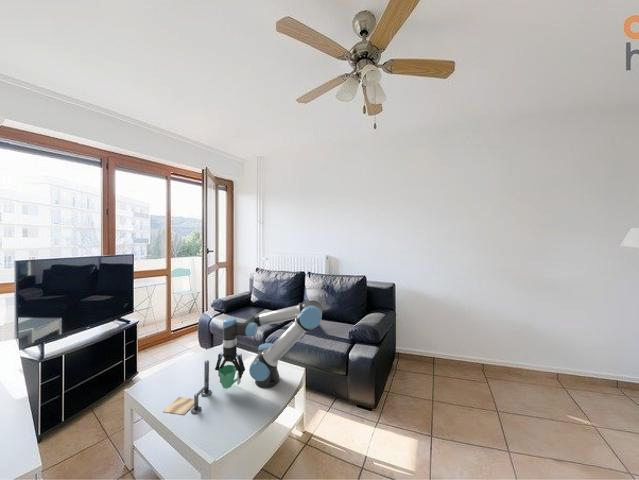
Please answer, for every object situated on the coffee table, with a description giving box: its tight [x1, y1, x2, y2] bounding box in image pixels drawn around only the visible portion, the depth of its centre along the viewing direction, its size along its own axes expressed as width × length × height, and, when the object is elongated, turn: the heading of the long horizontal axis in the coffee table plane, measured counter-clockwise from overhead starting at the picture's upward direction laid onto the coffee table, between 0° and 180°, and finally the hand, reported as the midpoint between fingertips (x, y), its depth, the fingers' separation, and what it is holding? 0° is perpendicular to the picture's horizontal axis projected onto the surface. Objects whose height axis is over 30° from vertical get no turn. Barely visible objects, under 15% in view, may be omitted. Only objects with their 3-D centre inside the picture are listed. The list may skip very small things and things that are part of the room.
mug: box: [217, 364, 244, 390], centre depth 152 cm, size 15×10×10 cm
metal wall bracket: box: [190, 360, 213, 415], centre depth 143 cm, size 8×19×19 cm, turn 171°
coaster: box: [163, 396, 194, 416], centre depth 140 cm, size 12×12×1 cm
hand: (230, 382), depth 153 cm, fingers closed on mug, 10 cm apart
